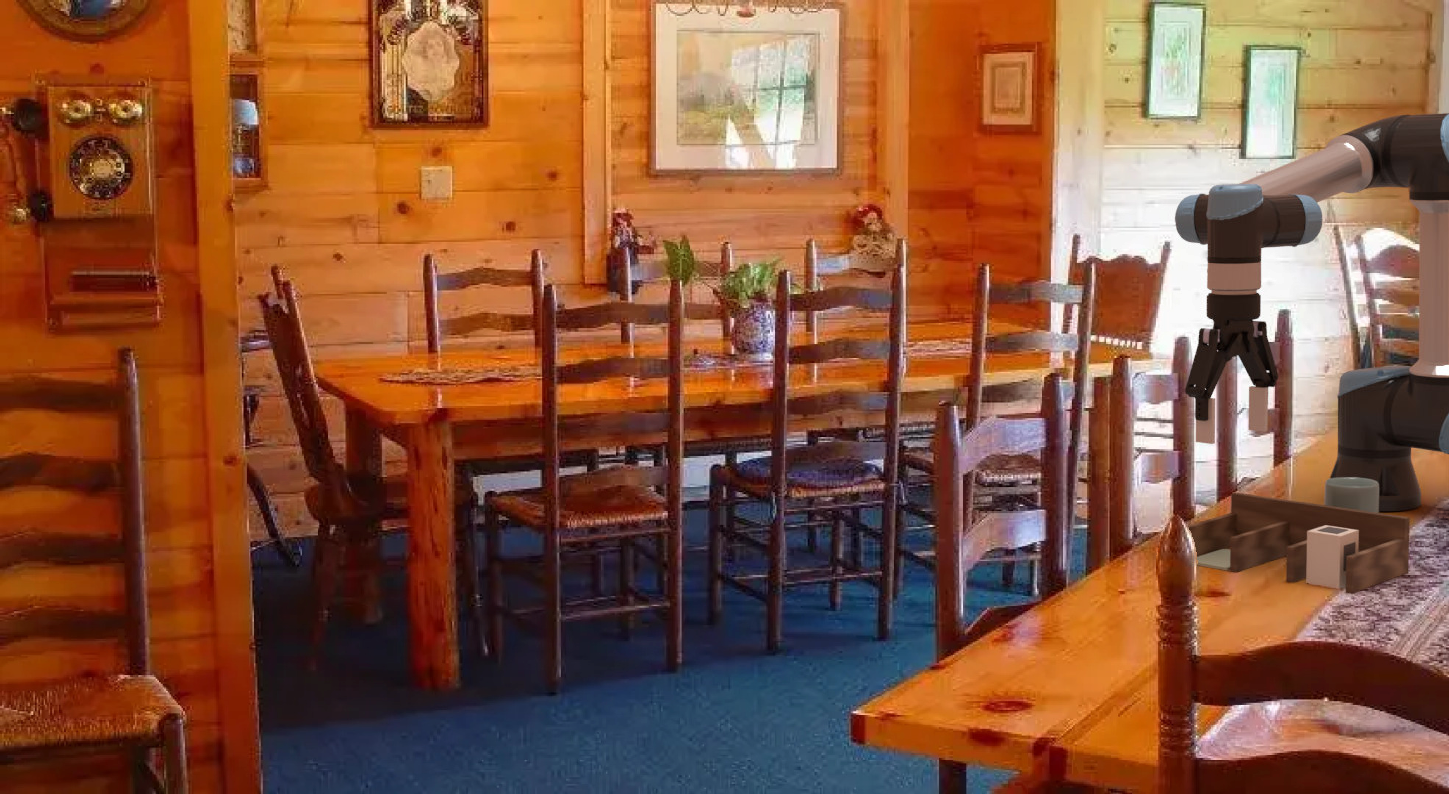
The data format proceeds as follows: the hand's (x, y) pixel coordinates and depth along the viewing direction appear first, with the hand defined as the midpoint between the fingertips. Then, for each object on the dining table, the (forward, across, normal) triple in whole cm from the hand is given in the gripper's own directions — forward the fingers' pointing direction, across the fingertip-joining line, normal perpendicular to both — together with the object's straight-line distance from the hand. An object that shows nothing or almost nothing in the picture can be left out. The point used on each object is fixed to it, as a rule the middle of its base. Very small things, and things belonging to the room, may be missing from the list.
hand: (1231, 436), depth 256 cm
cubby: (+19, -3, +8) cm, 21 cm away
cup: (+19, -20, +8) cm, 29 cm away
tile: (+19, 0, -1) cm, 19 cm away
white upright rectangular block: (+19, +1, +17) cm, 25 cm away
